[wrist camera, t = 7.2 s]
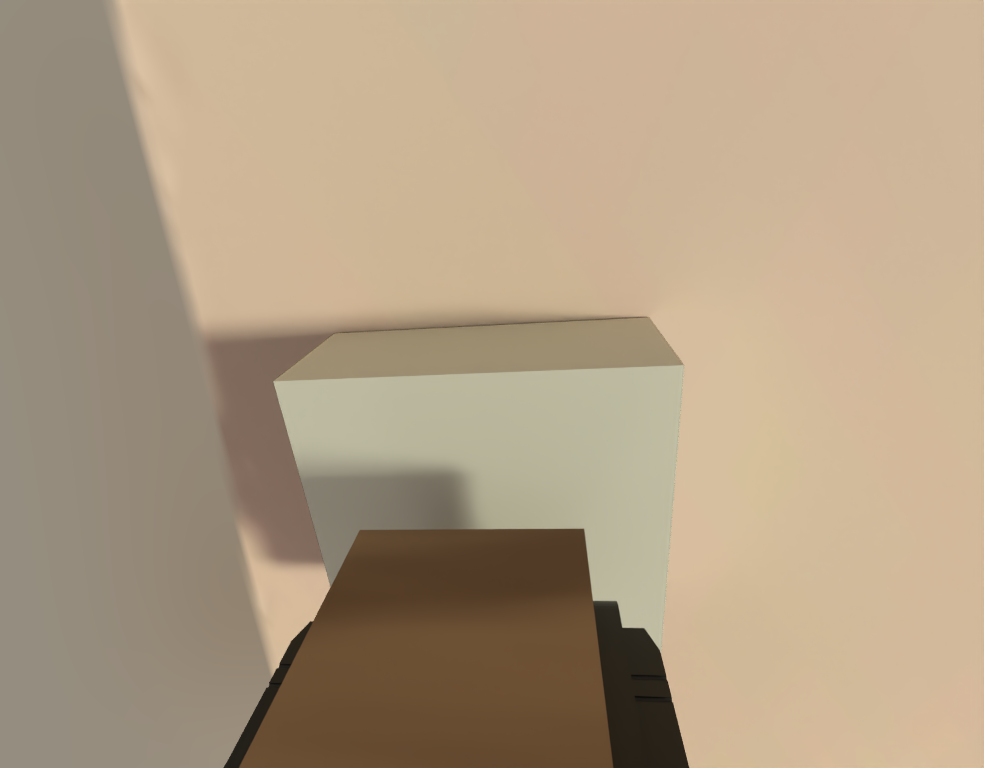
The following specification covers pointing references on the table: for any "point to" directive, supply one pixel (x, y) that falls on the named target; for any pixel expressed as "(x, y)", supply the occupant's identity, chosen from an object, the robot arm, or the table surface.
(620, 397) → the base slab
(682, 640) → the table surface
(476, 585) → the walnut cube
